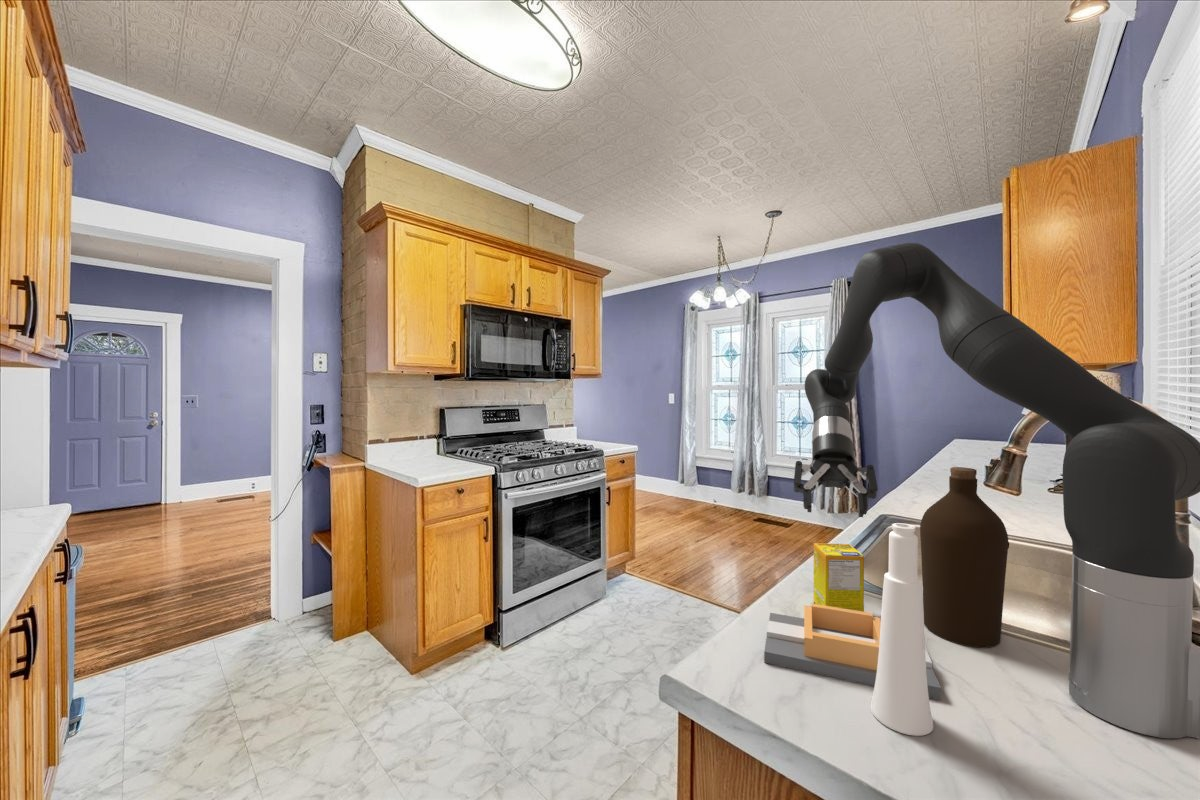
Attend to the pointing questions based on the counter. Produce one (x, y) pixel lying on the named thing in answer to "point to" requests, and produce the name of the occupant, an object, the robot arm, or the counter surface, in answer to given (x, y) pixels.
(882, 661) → the cosmetic bottle
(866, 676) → the rail mount
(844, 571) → the supplement box
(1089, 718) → the counter surface
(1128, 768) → the counter surface
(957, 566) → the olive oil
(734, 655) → the counter surface
